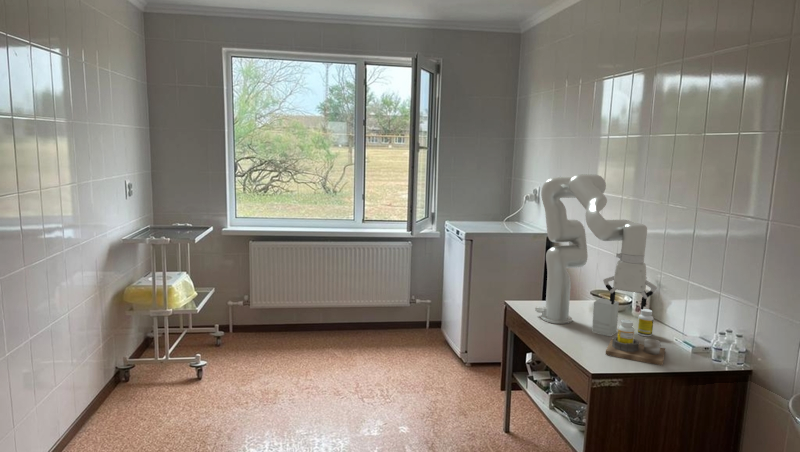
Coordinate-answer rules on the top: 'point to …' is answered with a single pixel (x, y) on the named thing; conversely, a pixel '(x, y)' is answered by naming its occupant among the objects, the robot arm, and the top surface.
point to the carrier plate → (638, 351)
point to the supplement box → (605, 317)
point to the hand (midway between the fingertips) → (627, 305)
